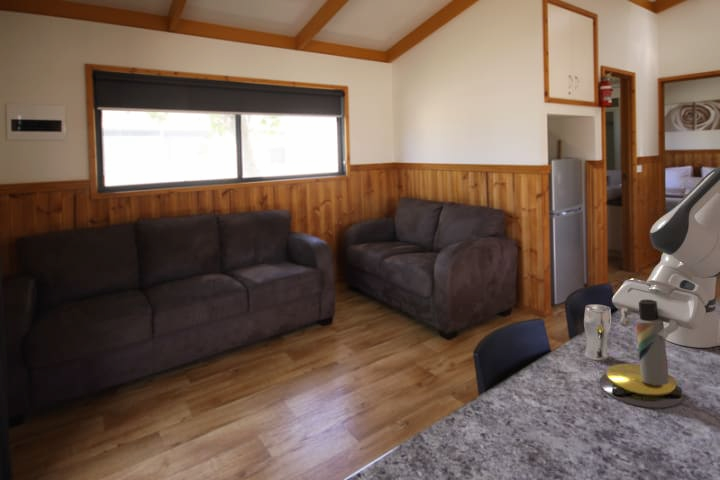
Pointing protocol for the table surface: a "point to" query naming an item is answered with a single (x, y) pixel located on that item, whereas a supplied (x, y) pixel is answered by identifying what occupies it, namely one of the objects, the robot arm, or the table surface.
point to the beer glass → (597, 331)
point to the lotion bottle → (651, 345)
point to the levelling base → (641, 398)
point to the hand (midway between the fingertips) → (641, 330)
